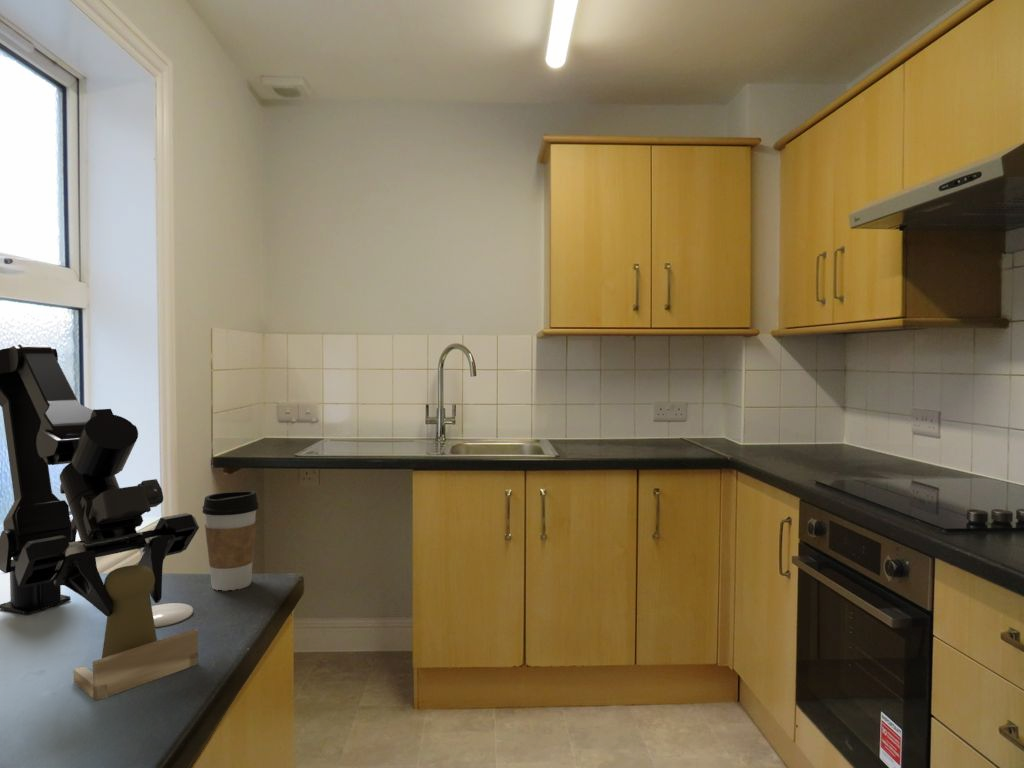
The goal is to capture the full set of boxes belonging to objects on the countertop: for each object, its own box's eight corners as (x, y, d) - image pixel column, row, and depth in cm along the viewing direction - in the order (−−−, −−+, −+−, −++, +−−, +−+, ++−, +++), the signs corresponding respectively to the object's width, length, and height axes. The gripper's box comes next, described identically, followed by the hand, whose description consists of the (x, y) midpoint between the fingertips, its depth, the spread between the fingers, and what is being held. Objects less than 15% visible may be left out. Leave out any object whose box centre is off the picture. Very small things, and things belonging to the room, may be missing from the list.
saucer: (115, 622, 92) (115, 619, 92) (165, 602, 99) (165, 600, 99) (157, 631, 89) (157, 628, 89) (205, 610, 96) (205, 607, 96)
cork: (96, 675, 74) (95, 579, 74) (105, 653, 80) (104, 563, 79) (156, 666, 77) (156, 572, 76) (161, 645, 82) (160, 557, 82)
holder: (73, 682, 75) (73, 647, 75) (172, 649, 83) (172, 618, 83) (97, 700, 71) (96, 664, 71) (198, 663, 79) (198, 631, 79)
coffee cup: (239, 595, 103) (238, 499, 102) (191, 591, 104) (190, 497, 104) (269, 578, 111) (268, 489, 110) (224, 574, 112) (223, 487, 112)
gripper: (21, 470, 72) (60, 592, 66) (191, 452, 87) (236, 550, 81) (0, 528, 77) (34, 647, 71) (164, 502, 92) (204, 599, 86)
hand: (135, 607), depth 77 cm, fingers closed on cork, 5 cm apart
